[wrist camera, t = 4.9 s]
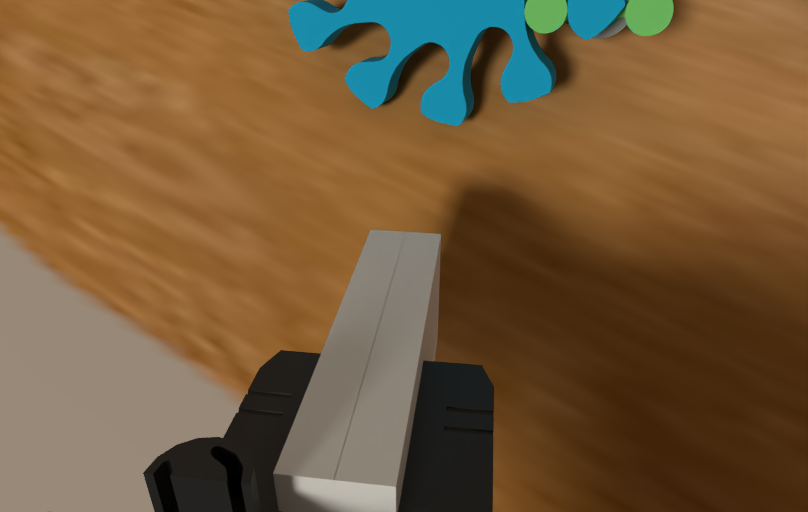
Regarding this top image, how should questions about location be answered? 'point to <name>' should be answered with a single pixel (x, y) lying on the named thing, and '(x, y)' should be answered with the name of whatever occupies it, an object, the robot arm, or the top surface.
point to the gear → (467, 41)
